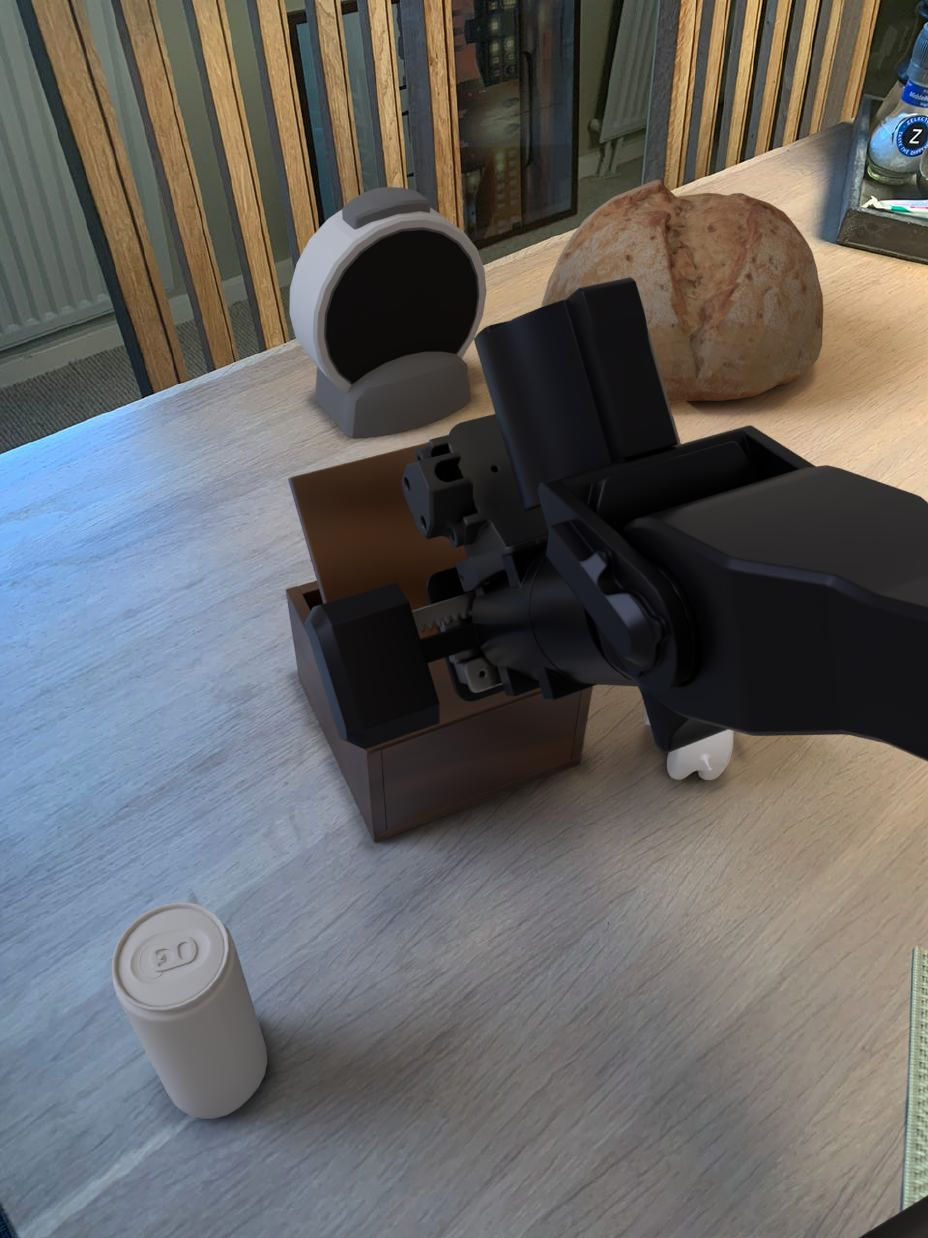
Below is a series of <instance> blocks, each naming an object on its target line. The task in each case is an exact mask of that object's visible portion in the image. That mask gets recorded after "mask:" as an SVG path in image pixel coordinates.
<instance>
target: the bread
mask: <svg viewBox="0 0 928 1238" xmlns="http://www.w3.org/2000/svg"><path fill="white" fill-rule="evenodd" d="M817 267H818V266H817V263H816V260H815V257H814V254H813V250H812V249H811V247H810V245H809V243H808V241H807V240H806V238H805V236H803V234H802V232H801V231H800V230H799V229H798V227H797V225H796V224H795V223H794V222H793V221H792V220H791V218H790V217H789V216H788V214H786V212H784V211H783V210H782V209H780V208H778V207H776V206H775V205H773V204H772V203H770V202H767V201H765V200H763V199H759V198H756V197H752V196H750V195H747V194H745V193H743V192H735V193H729V194H721V193H716V192H715V193H714V192H703V193H695V194H686V195H680V196H677V195H675V194H674V192H672V191H671V190H670V189H669V188H667V186H665V184H664V182H663V181H662V180H661V179H654V180H652V181H649V182H646V183H645V184H642V185H640V186H637V187H635V188H632V189H630V190H627V191H625V192H622V193H620V194H617V195H615V196H613V197H611V198H610V199H609V200H607V201H605V202H604V203H603V204H602V205H600V206H599V207H597V208H596V209H595V210H594V211H593V212H591V214H589V215H588V216H587V217H586V218H585V219H584V220H583V221H582V222H581V223H580V225H579V226H578V227H577V228H576V230H575V231H574V232H573V233H572V235H571V237H570V238H569V240H568V241H567V243H566V244H565V246H564V247H563V249H562V251H561V253H560V255H559V257H558V259H557V261H556V264H555V266H554V268H553V270H552V273H551V274H550V276H549V278H548V281H547V285H546V288H545V291H544V295H543V298H542V302H541V306H540V308H541V307H544V306H546V305H549V304H552V303H555V302H558V301H561V300H564V299H566V298H567V297H569V296H570V295H571V294H572V293H573V292H575V291H576V290H577V289H578V288H581V287H586V286H591V285H596V284H600V283H605V282H610V281H615V280H619V279H624V278H629V277H631V278H632V279H634V280H635V281H636V284H637V287H638V291H639V294H640V298H641V301H642V305H643V308H644V312H645V317H646V322H647V327H648V331H649V334H650V338H651V341H652V344H653V348H654V351H655V355H656V358H657V362H658V365H659V369H660V372H661V376H662V379H663V383H664V386H665V390H666V393H667V397H668V400H669V402H686V401H687V402H688V401H689V402H691V401H693V402H694V401H713V402H714V401H729V400H737V399H746V398H751V397H753V398H754V397H756V396H759V395H760V394H762V393H764V392H766V391H768V390H771V389H773V388H774V387H777V386H778V385H784V384H789V383H793V382H794V381H796V380H797V379H799V378H800V377H801V376H802V375H804V374H805V373H807V372H808V371H809V370H810V369H811V368H813V366H814V364H815V363H816V362H817V360H818V358H819V357H820V354H821V350H822V347H823V333H824V332H823V331H824V326H823V325H824V294H823V291H822V287H821V282H820V279H819V272H818V268H817Z"/></svg>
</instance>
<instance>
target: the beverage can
mask: <svg viewBox="0 0 928 1238" xmlns="http://www.w3.org/2000/svg"><path fill="white" fill-rule="evenodd" d="M111 961H112V962H111V974H112V984H113V987H114V991H115V994H116V998H117V999H118V1001H119V1003H120V1005H121V1007H122V1009H123V1011H124V1012H125V1015H126V1017H127V1018H128V1020H129V1022H130V1024H131V1026H132V1028H133V1030H134V1033H135V1034H136V1036H137V1038H138V1039H139V1042H140V1043H141V1045H142V1047H143V1049H144V1051H145V1053H146V1055H147V1057H148V1059H149V1061H150V1063H151V1065H152V1067H153V1069H154V1071H155V1072H156V1074H157V1076H158V1078H159V1080H160V1081H161V1084H162V1086H163V1088H164V1089H165V1091H166V1093H167V1095H168V1097H169V1098H170V1100H171V1101H172V1102H173V1104H174V1105H175V1107H177V1109H178V1110H180V1111H182V1112H183V1113H184V1114H185V1115H188V1116H191V1117H193V1118H197V1119H207V1120H213V1119H218V1118H222V1117H225V1116H227V1115H228V1116H229V1114H231V1113H233V1112H235V1111H236V1110H238V1109H240V1108H241V1107H242V1106H243V1105H244V1104H245V1103H246V1102H248V1100H250V1099H251V1097H252V1096H253V1095H254V1094H255V1092H256V1091H257V1089H259V1087H260V1086H261V1083H262V1081H263V1079H264V1077H265V1075H266V1072H267V1065H268V1053H267V1052H268V1051H267V1046H266V1043H265V1038H264V1036H263V1032H262V1030H261V1026H260V1022H259V1019H258V1017H257V1013H256V1010H255V1006H254V1003H253V1000H252V997H251V993H250V990H249V987H248V984H247V983H248V982H247V980H246V977H245V974H244V971H243V967H242V964H241V960H240V957H239V954H238V951H237V947H236V945H235V941H234V939H233V936H232V934H231V932H230V930H229V928H228V927H227V926H226V925H225V924H224V922H223V921H222V920H221V919H220V918H219V916H218V915H217V914H216V913H215V912H214V911H212V910H211V909H209V908H208V907H206V906H204V905H200V904H198V903H195V902H194V903H193V902H188V901H187V902H185V901H175V902H171V903H165V904H161V905H159V906H158V905H157V907H154V908H152V909H149V910H147V911H146V912H144V913H143V914H141V915H140V916H138V917H137V918H136V919H134V920H133V922H132V923H130V925H128V927H127V928H126V929H125V930H124V931H123V932H122V935H121V936H120V938H119V940H118V942H117V943H116V946H115V948H114V951H113V955H112V959H111Z"/></svg>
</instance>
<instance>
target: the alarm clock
mask: <svg viewBox="0 0 928 1238" xmlns="http://www.w3.org/2000/svg"><path fill="white" fill-rule="evenodd" d="M485 271H486V270H485V266H484V264H483V261H482V258H481V256H480V253H479V251H478V248H477V247H476V246H475V244H474V243H473V242H472V240H471V239H470V238H469V236H468V235H467V234H466V233H465V232H464V230H462V229H461V228H460V227H458V226H456V225H455V224H454V223H453V222H451V221H450V220H448V219H447V218H446V217H445V216H443V215H442V214H441V213H439V212H438V211H436V209H433V208H432V207H431V201H430V200H429V199H428V198H426V197H425V196H424V195H422V194H421V193H420V192H419V191H417V190H414V189H410V188H405V187H396V186H386V187H385V186H384V187H383V186H382V187H376V188H373V189H370V190H368V191H365V192H363V193H361V194H359V195H357V196H355V197H354V198H352V199H351V200H350V201H348V202H347V203H346V204H345V205H344V206H343V207H342V209H340V210H339V211H337V212H336V213H335V214H333V215H331V216H330V217H328V219H326V221H325V222H324V223H323V224H322V225H321V226H320V227H319V228H318V229H317V231H316V232H315V233H314V234H313V235H312V236H311V237H310V238H309V240H308V242H307V243H306V245H305V247H304V249H303V251H302V253H301V255H300V257H299V259H298V260H297V262H296V265H295V270H294V273H293V275H292V276H293V277H292V280H291V283H290V288H289V317H290V321H291V325H292V329H293V333H294V336H295V339H296V340H297V341H298V343H299V345H300V347H301V349H302V350H303V351H304V353H305V355H306V356H307V357H308V358H309V359H310V361H311V362H312V363H313V364H314V365H315V366H316V377H315V379H316V380H315V395H314V396H315V397H314V401H315V403H317V404H318V406H319V407H320V408H321V409H322V410H323V411H324V412H325V413H326V414H327V416H328V418H330V420H332V422H333V423H334V424H335V425H336V426H337V427H338V428H339V430H340V431H341V432H342V433H343V434H344V435H345V437H348V438H351V439H358V438H359V439H360V438H375V437H381V436H386V435H387V436H388V435H393V434H398V433H402V432H403V433H404V432H407V431H410V430H414V429H418V428H422V427H425V426H427V425H430V424H432V423H435V422H437V421H440V420H442V419H444V418H446V417H448V416H450V415H452V414H454V413H455V412H458V411H459V410H461V409H463V408H464V407H465V406H466V405H468V404H469V403H470V402H472V394H471V386H470V378H469V371H468V370H469V369H468V363H467V362H466V361H465V360H464V359H463V357H464V356H465V354H466V353H467V351H468V350H469V348H470V347H471V345H472V343H473V342H474V338H475V337H476V335H477V334H478V329H479V327H480V324H481V322H482V319H483V316H484V311H485V305H486V297H487V282H486V272H485Z"/></svg>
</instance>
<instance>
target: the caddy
mask: <svg viewBox="0 0 928 1238" xmlns="http://www.w3.org/2000/svg"><path fill="white" fill-rule="evenodd" d="M285 596H286V603H287V608H288V615H289V621H290V629H291V635H292V641H293V649H294V654H295V655H294V656H295V662H296V668H297V675H298V681H299V683H300V685H301V688H302V690H303V692H304V694H305V696H306V698H307V700H308V703H309V705H310V707H311V710H312V711H313V713H314V716H315V718H316V720H317V722H318V725H319V726H320V729H321V731H322V733H323V736H324V737H325V740H326V742H327V744H328V746H329V747H330V750H331V753H332V754H333V757H334V759H335V761H336V763H337V766H338V767H339V771H340V772H341V774H342V776H343V778H344V780H345V782H346V785H347V787H348V789H349V791H350V794H351V796H352V798H353V800H354V802H355V804H356V806H357V809H358V811H359V813H360V815H361V818H362V819H363V821H364V824H365V826H366V828H367V831H368V832H369V834H370V838H371V839H372V841H373V843H374V844H375V843H378V842H380V841H383V840H386V839H388V838H390V837H391V838H392V837H393V836H396V835H398V834H401V833H404V832H407V831H409V830H412V829H414V828H417V827H420V826H422V825H425V824H427V823H430V822H433V821H435V820H437V819H440V818H443V817H447V816H448V815H451V814H453V813H456V812H459V811H461V810H464V809H466V808H470V807H471V806H474V805H476V804H480V803H482V802H484V801H487V800H490V799H492V798H495V797H498V796H500V795H504V794H506V793H509V792H511V791H513V790H516V789H518V788H519V789H520V788H521V787H524V786H526V785H529V784H532V783H534V782H537V781H539V780H543V779H544V778H548V777H550V776H552V775H556V774H559V773H560V772H564V771H565V770H568V769H572V768H573V767H576V766H578V765H581V762H582V754H583V749H584V744H585V738H586V732H587V731H586V730H587V725H588V718H589V713H590V706H591V702H592V701H591V700H592V696H593V695H592V694H593V688H594V686H592V687H590V688H587V689H584V690H581V691H578V692H576V693H573V694H570V695H567V696H564V697H562V698H559V699H556V700H547V699H544V698H543V695H542V692H541V690H539V691H536V692H533V693H530V694H527V695H525V696H522V697H519V698H516V699H513V700H510V701H508V702H505V703H502V704H499V705H496V706H493V707H490V708H488V709H485V710H482V711H479V712H476V713H473V714H471V715H468V716H465V717H462V718H459V719H456V720H453V721H451V722H448V723H445V724H442V725H439V726H436V727H434V728H431V729H428V730H425V731H422V732H419V733H416V734H414V735H411V736H408V737H405V738H402V739H399V740H397V741H394V742H391V743H388V744H385V745H382V746H379V747H377V748H374V749H371V750H368V749H366V750H365V749H362V748H359V747H357V746H355V745H353V744H351V743H349V742H347V741H345V740H343V739H341V738H339V735H338V731H337V728H336V725H335V722H334V718H333V715H332V712H331V708H330V705H329V702H328V699H327V695H326V692H325V689H324V686H323V682H322V679H321V676H320V673H319V669H318V666H317V663H316V660H315V656H314V653H313V650H312V647H311V643H310V640H309V637H308V634H307V630H306V627H305V624H304V623H305V621H306V620H307V618H308V616H309V614H310V612H311V610H312V608H313V607H315V606H318V605H322V604H323V600H322V597H321V593H320V590H319V586H318V583H317V580H314V581H310V582H307V583H304V584H300V585H296V586H292V587H288V588H286V589H285Z"/></svg>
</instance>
